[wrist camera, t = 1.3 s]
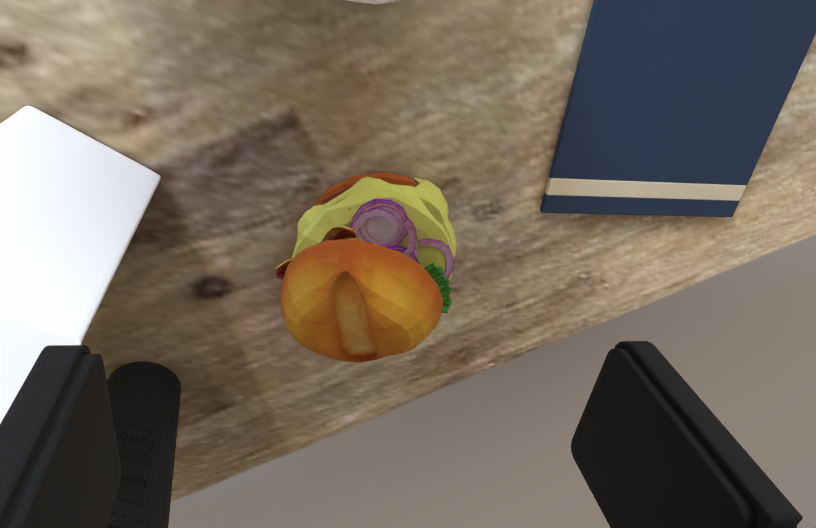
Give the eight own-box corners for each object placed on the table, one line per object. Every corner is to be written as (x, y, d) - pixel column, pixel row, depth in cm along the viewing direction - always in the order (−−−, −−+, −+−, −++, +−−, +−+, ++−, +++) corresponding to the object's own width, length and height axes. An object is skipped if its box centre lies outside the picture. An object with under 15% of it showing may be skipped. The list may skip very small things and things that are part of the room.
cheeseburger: (485, 231, 37) (505, 345, 30) (366, 301, 42) (356, 416, 34) (390, 123, 32) (385, 228, 25) (264, 215, 37) (228, 329, 29)
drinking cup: (72, 414, 39) (-87, 781, 22) (98, 333, 36) (-63, 686, 19) (183, 435, 42) (116, 773, 25) (216, 361, 39) (163, 690, 22)
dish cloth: (640, -182, 27) (645, -183, 27) (885, -134, 30) (892, -134, 30) (539, 210, 38) (542, 212, 37) (728, 214, 41) (732, 217, 40)
